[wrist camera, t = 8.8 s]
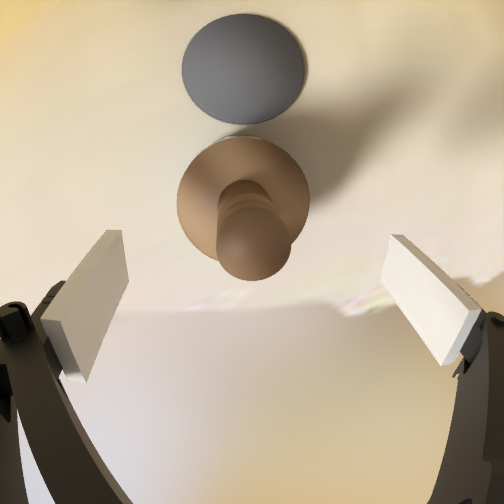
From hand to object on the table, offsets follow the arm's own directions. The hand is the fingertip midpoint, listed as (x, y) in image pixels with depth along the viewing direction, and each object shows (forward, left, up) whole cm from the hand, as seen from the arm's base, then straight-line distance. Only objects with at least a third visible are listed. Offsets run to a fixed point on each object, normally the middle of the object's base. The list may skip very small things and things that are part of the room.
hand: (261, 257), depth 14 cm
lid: (0, 0, -11) cm, 11 cm away
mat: (-10, -6, -16) cm, 20 cm away
